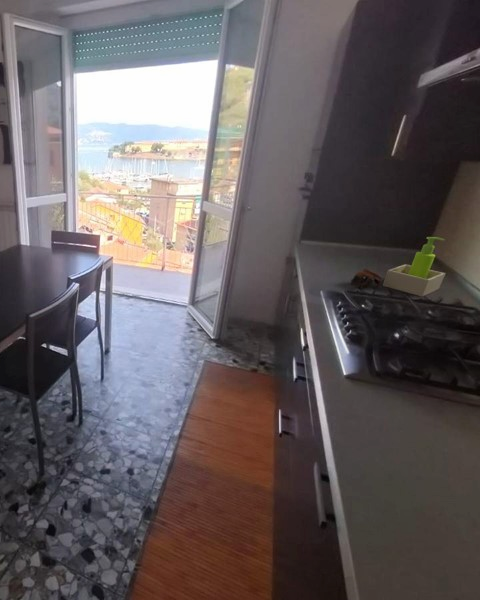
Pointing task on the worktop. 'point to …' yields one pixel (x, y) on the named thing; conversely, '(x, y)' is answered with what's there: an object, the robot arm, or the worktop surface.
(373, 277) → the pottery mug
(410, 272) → the soap dispenser
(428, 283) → the open rectangular box
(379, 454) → the worktop surface
